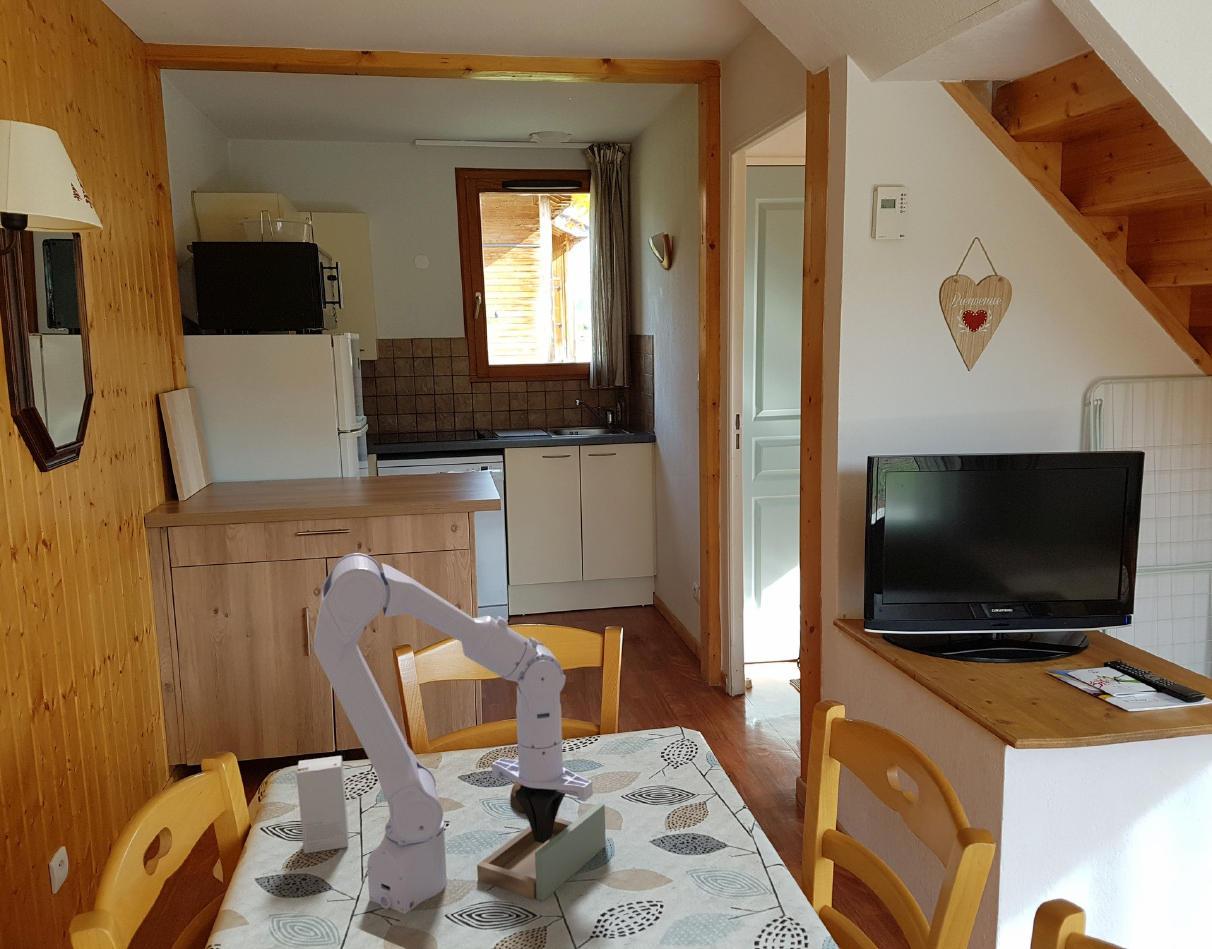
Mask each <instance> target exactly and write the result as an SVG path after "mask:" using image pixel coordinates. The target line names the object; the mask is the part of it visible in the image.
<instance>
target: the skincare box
mask: <svg viewBox="0 0 1212 949" xmlns="http://www.w3.org/2000/svg"><path fill="white" fill-rule="evenodd" d="M296 770H297V771H296V775H295V776H296V781H297V782H296V783H297V793H298V802H299V812H300V813H299V814H300V823H301V824H300V825H301V835H302V843H303V844H302V846H303V853H304V854H311V853H319V852H323V851H324V852H325V851H330V850H336V849H343V848H348V847H349V835H350V834H349V833H350V831H349V822H348V812H347V811H348V810H347V800H346V799H347V798H346V789H345V786H346V785H345V777H344V776H345V775H344V766H343V756H342V755H336V756H329V757H321V758H313V759H304V760H299V761H298V763H297V769H296Z"/></svg>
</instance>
